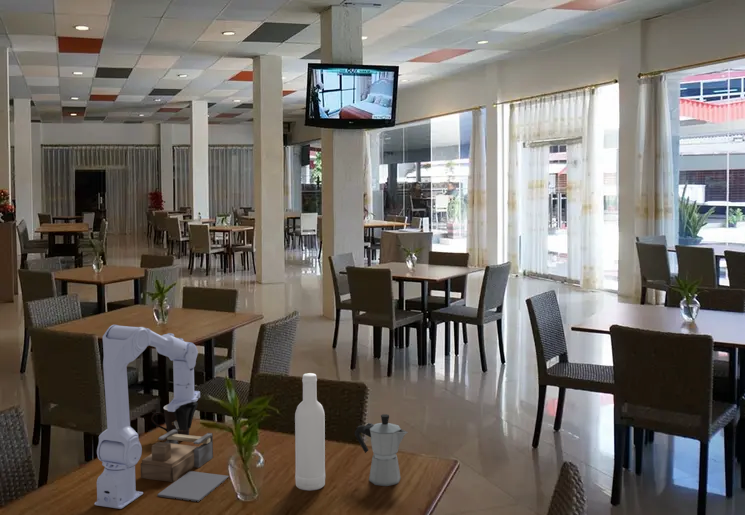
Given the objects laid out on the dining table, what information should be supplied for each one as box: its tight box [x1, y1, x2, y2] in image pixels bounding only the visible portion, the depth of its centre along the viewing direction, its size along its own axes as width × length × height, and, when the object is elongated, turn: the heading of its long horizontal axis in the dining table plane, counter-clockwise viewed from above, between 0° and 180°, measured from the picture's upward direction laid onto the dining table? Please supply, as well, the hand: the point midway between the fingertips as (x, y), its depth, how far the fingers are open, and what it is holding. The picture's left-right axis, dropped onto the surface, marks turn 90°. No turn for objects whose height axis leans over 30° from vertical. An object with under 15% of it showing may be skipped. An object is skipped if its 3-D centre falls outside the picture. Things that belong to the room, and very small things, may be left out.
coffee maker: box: [354, 413, 409, 487], centre depth 197 cm, size 15×9×18 cm, turn 74°
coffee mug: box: [150, 404, 191, 435], centre depth 230 cm, size 12×9×10 cm
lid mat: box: [157, 470, 230, 503], centre depth 192 cm, size 16×12×1 cm
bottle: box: [294, 372, 326, 491], centre depth 192 cm, size 8×8×30 cm
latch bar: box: [166, 434, 210, 444], centre depth 212 cm, size 2×13×1 cm, turn 73°
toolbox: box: [140, 429, 214, 483], centre depth 206 cm, size 19×13×7 cm
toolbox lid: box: [141, 441, 199, 467], centre depth 203 cm, size 14×9×5 cm
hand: (185, 428), depth 210 cm, fingers closed
